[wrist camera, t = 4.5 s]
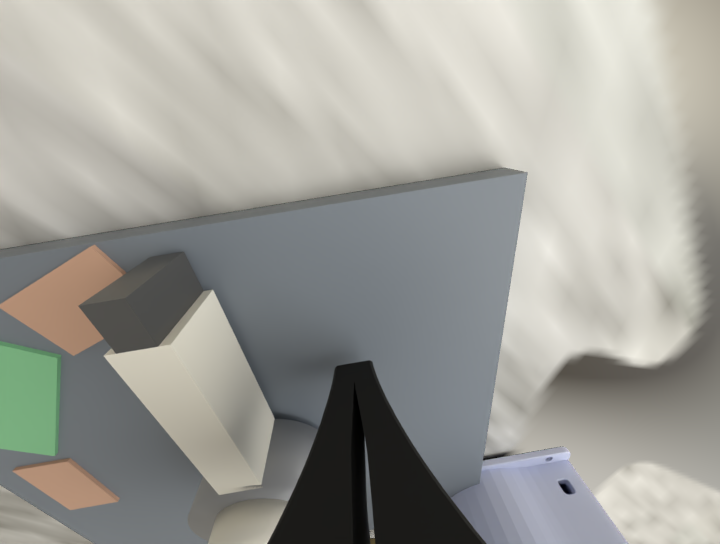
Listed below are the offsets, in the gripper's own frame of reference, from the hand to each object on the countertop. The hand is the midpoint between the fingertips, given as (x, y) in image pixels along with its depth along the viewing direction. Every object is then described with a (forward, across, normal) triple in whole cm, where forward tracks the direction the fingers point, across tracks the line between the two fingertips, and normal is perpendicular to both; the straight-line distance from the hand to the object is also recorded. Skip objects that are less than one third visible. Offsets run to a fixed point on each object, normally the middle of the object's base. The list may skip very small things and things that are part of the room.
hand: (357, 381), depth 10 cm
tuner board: (+2, +6, +5) cm, 8 cm away
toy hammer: (+1, +5, +1) cm, 5 cm away
